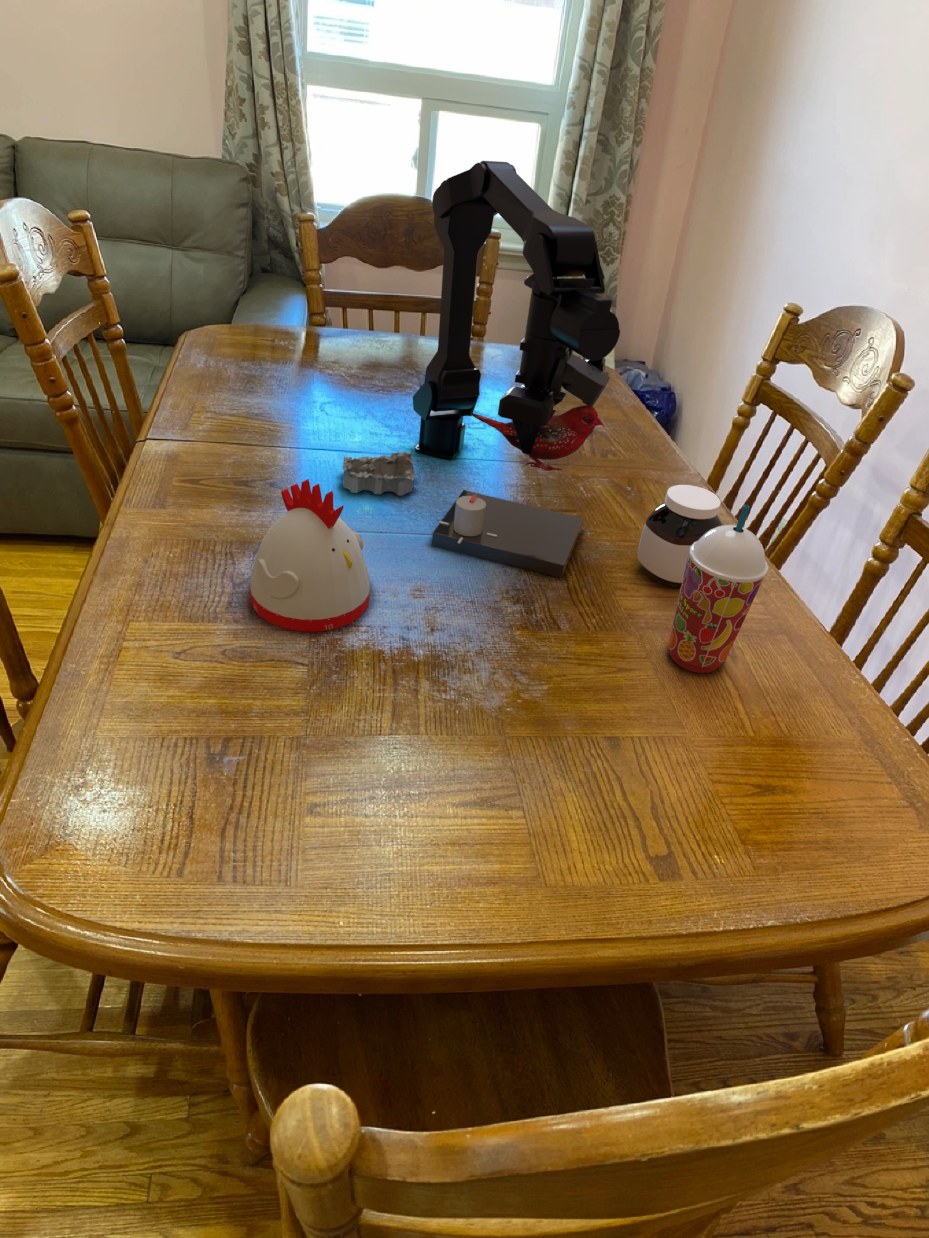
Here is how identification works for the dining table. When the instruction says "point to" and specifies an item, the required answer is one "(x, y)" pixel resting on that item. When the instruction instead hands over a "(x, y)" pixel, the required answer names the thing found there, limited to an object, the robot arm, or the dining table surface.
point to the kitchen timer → (310, 566)
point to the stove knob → (469, 515)
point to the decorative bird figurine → (553, 434)
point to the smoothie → (716, 595)
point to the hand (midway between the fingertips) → (528, 449)
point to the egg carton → (379, 473)
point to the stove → (515, 536)
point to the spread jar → (676, 532)
